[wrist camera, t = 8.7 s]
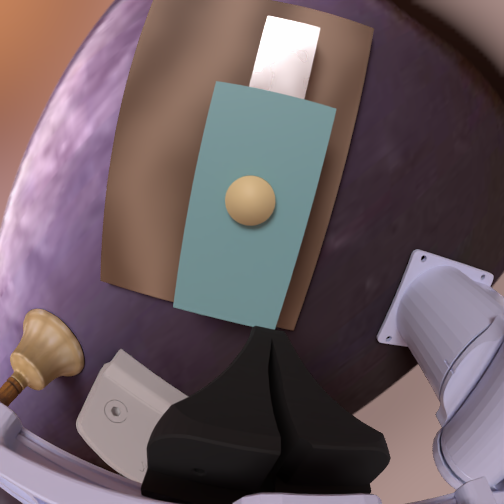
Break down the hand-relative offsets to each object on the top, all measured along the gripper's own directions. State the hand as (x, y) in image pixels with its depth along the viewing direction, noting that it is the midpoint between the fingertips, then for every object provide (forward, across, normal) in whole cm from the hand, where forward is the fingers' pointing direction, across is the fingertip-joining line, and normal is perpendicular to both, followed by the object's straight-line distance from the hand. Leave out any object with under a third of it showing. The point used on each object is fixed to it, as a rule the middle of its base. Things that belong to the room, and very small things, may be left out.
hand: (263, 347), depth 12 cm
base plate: (+9, +4, -7) cm, 13 cm away
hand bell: (+10, +19, +14) cm, 26 cm away
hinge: (+10, +5, +18) cm, 21 cm away
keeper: (+8, +2, -4) cm, 10 cm away
